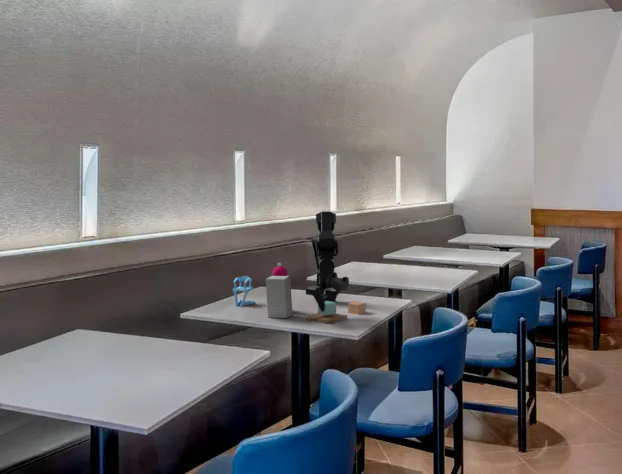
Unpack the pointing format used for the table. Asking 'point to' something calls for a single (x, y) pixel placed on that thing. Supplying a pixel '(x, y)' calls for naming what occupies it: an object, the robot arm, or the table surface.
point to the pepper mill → (279, 270)
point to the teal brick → (328, 308)
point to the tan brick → (356, 307)
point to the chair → (243, 289)
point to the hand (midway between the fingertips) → (327, 310)
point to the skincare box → (279, 296)
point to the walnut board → (327, 318)
